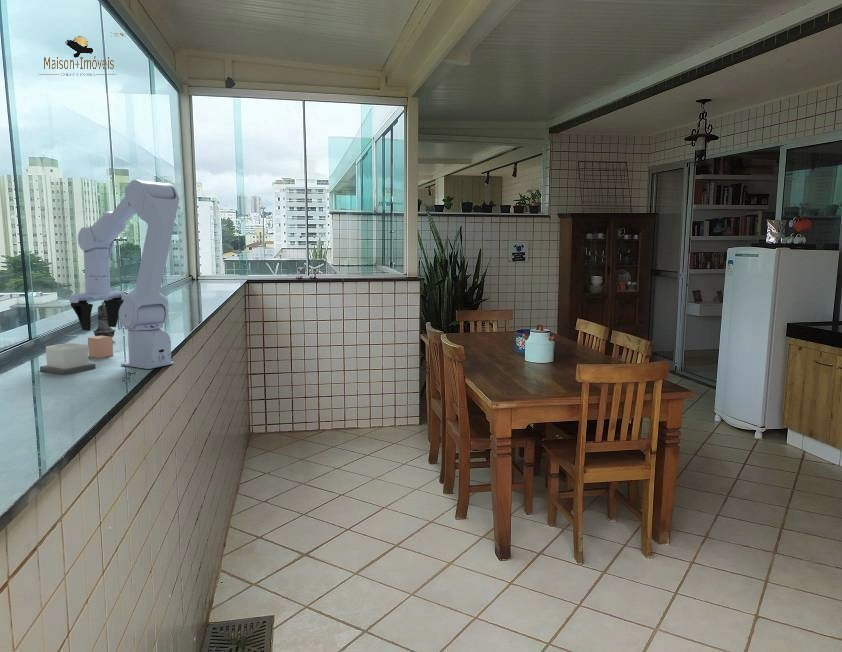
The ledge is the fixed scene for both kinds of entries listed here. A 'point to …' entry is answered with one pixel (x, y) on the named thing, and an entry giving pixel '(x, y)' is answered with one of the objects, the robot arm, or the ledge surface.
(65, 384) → the ledge surface
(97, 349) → the terracotta brick
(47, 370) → the tower base
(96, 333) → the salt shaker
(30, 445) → the ledge surface
